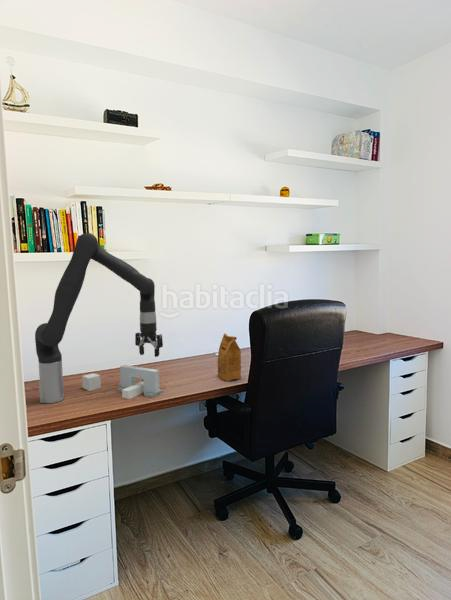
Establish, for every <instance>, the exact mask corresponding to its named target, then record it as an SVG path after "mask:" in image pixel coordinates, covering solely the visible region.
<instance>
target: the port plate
mask: <svg viewBox="0 0 451 600" xmlns="http://www.w3.org/2000/svg"><path fill="white" fill-rule="evenodd" d="M119 376H120V381H119V382H120V387H118V388H116V391H117V392H119V393H122V390H123V389H125V388H128V387H130V386H133V385H135V384H137V381H136V380H137V379H143V384H144V392H143V395H144V397H146V398H151V399H152V398H155V397H156V396H158V395H161V394H163V393H164V390H163V389H160V370H159V369H153V368H147V367H141V366H136V365H135V366H133V365H128V364H123V365H121V366H119ZM136 378H137V379H136Z"/></svg>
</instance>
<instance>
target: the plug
mask: <svg viewBox="0 0 451 600" xmlns="http://www.w3.org/2000/svg"><path fill="white" fill-rule="evenodd" d="M141 379H142V378H141ZM141 394H144V384H143V379H142V380H141V381H139V382H138V383H137V382H136V384H135V385H133V386H130V387H128V388H125V389H123V390H122V392H121V397H122V399H126V400H130V399H132V398H135V397H137V396H138V395H141Z"/></svg>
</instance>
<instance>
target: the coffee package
mask: <svg viewBox="0 0 451 600" xmlns="http://www.w3.org/2000/svg"><path fill="white" fill-rule="evenodd" d="M236 340H237V336H229V335H228V334H227V333H223V336H222V339H221V341H220V343H219V348H218V355H217V377H218V378H220V380H223V381H225V380H226V381H225V382H230V381H232V380H239V379H241V378H242V377H241V376H242V373H241V372H242V364H241V362H242V351H241V349H240V346H239V345H238V342H237V341H236Z"/></svg>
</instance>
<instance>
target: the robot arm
mask: <svg viewBox="0 0 451 600" xmlns="http://www.w3.org/2000/svg"><path fill="white" fill-rule="evenodd" d="M98 240H99V239H97V237H96V235H94V234H93V233H90V232H85V233H82V234H80V235H79V236H78V237H77V238H76V242H75V246H74V249H73V252H72V256H71V258H70V261H69V262H68V265H67V266H66V268H65V270H64V271H63V273H62V276H61V278H60V280H59V283H58V285H57V287H56V290H55V293H54V298H53V299H54V300H53V308H52V312H51V315H50V316H49V319H48V321H47V322H44V323H41V324H39V325H38V326H37V328H36V330H35V333H34V339H35V343H34V344H35V351H36V356H37V359H38V361H37V362H38V376H39V379H38V389H39V391H38V392H39V404H54V403H58V402H62V401H63V400H64V398H65V397H64V395H65V393H64V376H63V375H64V374H63V358H62V357H63V356H62V353H61V351H60V347H59V344H60V343H61V341H62V340H63V338H64V336H65V331H66V328H67V324H68V321H69V318H70V316H71V313H72V312H73V310H74V307H75V304H76V302H77V299H78V298H79V295H80V292H81V290H82V287H83V285H84V282H85V278H86V273H87V268H88V265H89V263H90V262H91V260H92V261H95V262H96V263H98V264H100V265H101V266H103V267H104V268H106V269H108V270H109V271H111V272H112V273H113V274H115V275H116V276H117V277H119V278H121V279H122V280H124V282H127V283H128V284H130V285H131V286H133V287H134V288H135V289H136V290H138V291H139V298H140V300H139V330H140V331H139V332H136V333H135V343H134V344H135V346H137V347H138V351H139V352H138V353H139V355H140V356H143V355H145V346H144V345H145V344H150V345H151V346H152V347H153V348H154V357H155V358H157V357H159V356H160V348H161V349H162V348H163V347H164V343H163V335H162V333H160V334H157V313H156V301H155V294H156V293H155V291H156V290H155V288H156V286H155V282H154V280H153V279H151V278H150V277H147V276H145V275H144V274H142V273H140V271H139V270H137V269H136V268H135V267H133V266H132V265H131V264H129V263H128V262H126V261H124V260H122V259H121V258H119V257H117V256H115V255H113V254H111V253H109V252H108V251H106V250H105V249H104V248H103V247H102V246H101V245H100V244H99V241H98Z"/></svg>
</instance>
